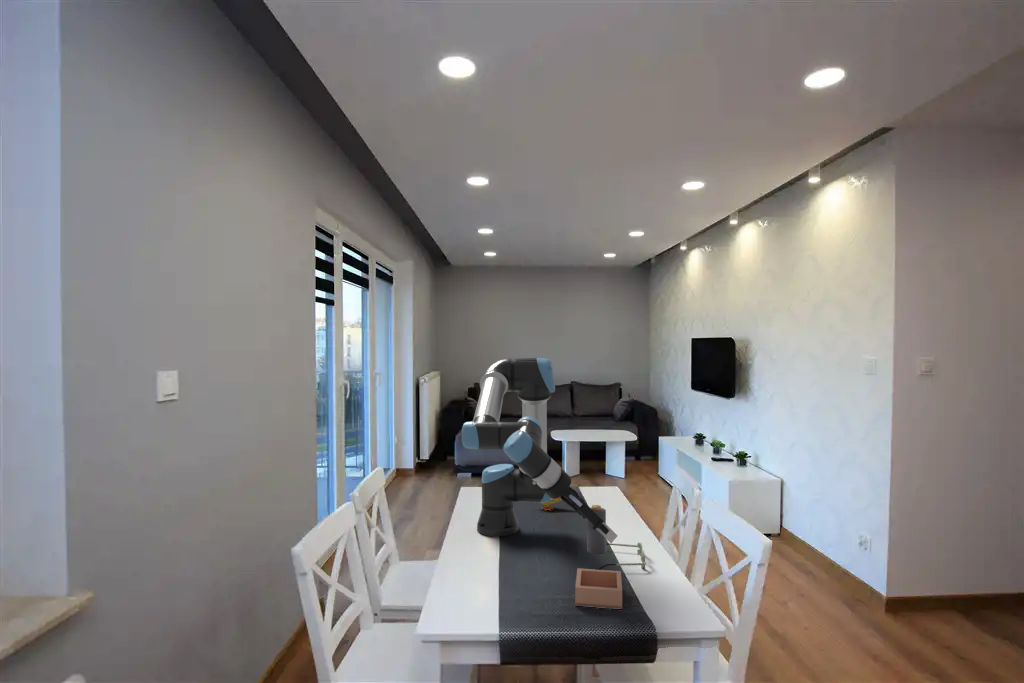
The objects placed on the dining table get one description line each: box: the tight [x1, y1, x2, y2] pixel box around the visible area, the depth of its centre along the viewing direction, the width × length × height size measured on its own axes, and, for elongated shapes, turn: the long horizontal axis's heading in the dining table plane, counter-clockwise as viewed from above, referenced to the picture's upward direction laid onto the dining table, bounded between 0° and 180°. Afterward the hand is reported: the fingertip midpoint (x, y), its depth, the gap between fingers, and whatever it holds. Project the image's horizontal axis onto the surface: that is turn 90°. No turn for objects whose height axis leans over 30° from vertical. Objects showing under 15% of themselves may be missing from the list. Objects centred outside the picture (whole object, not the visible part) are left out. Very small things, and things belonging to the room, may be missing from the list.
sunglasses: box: [596, 542, 647, 570], centre depth 170 cm, size 17×15×5 cm
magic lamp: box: [535, 496, 563, 510], centre depth 223 cm, size 7×18×11 cm, turn 85°
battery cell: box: [586, 504, 607, 556], centre depth 145 cm, size 5×5×12 cm
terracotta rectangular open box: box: [574, 567, 623, 610], centre depth 145 cm, size 12×12×5 cm
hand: (609, 535), depth 146 cm, fingers closed on battery cell, 5 cm apart
